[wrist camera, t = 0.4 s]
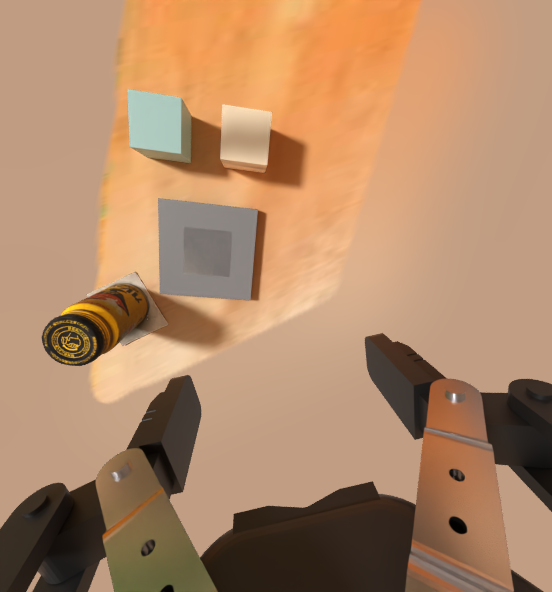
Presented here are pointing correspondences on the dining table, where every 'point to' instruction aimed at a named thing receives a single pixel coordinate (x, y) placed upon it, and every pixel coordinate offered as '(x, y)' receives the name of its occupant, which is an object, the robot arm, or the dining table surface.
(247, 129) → the block birch
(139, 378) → the dining table surface
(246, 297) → the plate
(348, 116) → the dining table surface
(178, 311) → the dining table surface
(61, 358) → the condiment
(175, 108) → the block teal
